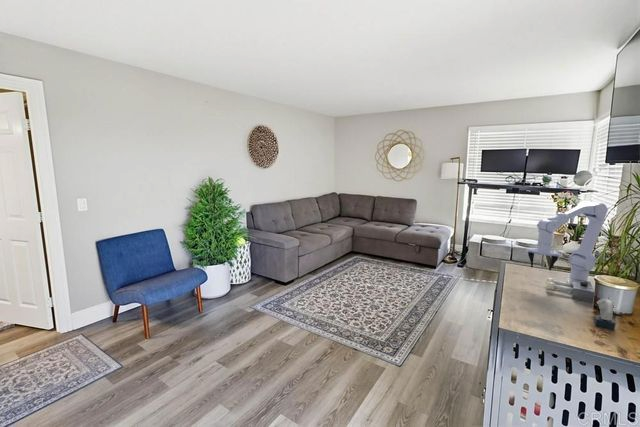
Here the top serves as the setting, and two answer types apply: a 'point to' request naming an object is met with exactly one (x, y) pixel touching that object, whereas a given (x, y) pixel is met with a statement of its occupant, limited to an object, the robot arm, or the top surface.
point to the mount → (582, 290)
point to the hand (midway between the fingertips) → (540, 268)
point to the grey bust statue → (605, 315)
